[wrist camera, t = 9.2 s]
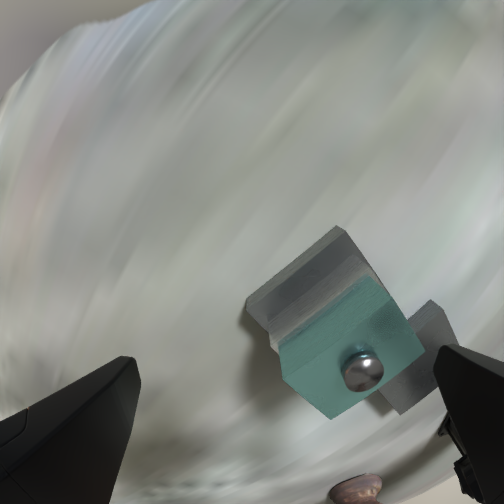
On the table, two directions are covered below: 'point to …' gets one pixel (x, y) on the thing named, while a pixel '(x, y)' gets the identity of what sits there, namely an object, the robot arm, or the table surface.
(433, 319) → the stand
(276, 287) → the stand
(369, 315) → the housing
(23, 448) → the robot arm
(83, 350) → the table surface
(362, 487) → the mortar and pestle
